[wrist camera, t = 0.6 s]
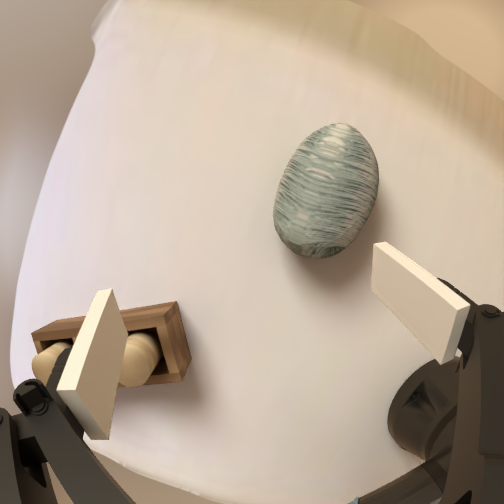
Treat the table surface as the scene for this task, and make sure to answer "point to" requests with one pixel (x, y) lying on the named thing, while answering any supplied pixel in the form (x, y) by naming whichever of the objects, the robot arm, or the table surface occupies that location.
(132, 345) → the peg right
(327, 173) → the grey green ridged egg
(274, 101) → the table surface
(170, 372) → the walnut block
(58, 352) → the peg left
